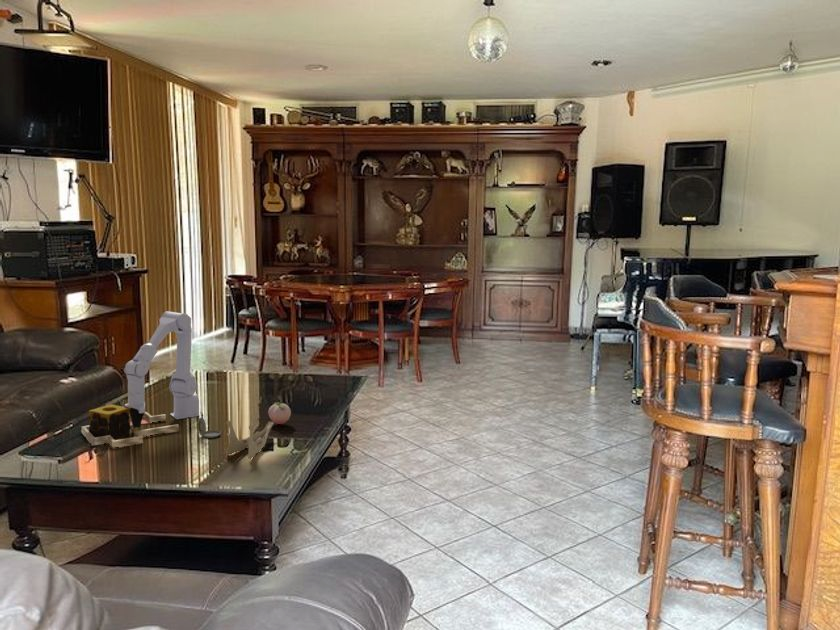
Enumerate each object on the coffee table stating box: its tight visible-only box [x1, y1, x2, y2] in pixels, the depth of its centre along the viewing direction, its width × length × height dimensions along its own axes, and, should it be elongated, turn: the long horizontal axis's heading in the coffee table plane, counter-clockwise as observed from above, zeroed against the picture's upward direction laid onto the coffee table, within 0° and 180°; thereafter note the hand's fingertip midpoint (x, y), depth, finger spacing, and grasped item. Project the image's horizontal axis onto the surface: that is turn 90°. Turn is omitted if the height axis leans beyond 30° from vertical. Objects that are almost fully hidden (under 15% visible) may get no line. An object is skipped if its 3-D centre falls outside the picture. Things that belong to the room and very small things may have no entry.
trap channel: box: [81, 411, 180, 449], centre depth 229 cm, size 30×29×2 cm
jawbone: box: [225, 420, 275, 460], centre depth 219 cm, size 25×10×14 cm, turn 166°
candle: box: [88, 404, 131, 440], centre depth 224 cm, size 10×10×10 cm
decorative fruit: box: [267, 401, 292, 425], centre depth 246 cm, size 9×8×10 cm
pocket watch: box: [197, 411, 221, 439], centre depth 229 cm, size 8×8×10 cm
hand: (136, 426), depth 230 cm, fingers closed
